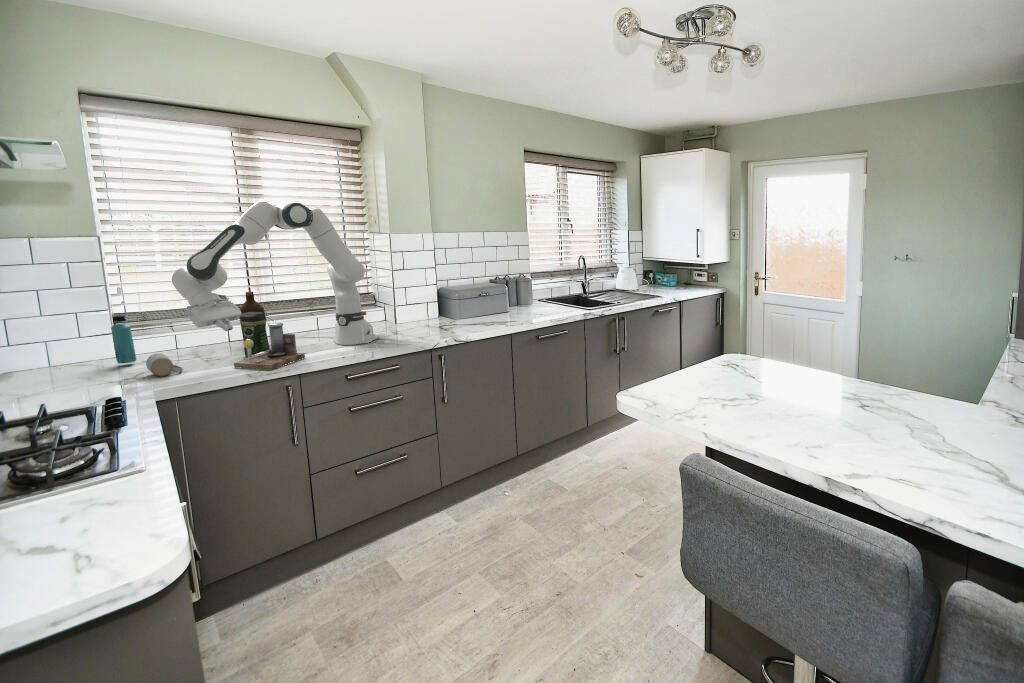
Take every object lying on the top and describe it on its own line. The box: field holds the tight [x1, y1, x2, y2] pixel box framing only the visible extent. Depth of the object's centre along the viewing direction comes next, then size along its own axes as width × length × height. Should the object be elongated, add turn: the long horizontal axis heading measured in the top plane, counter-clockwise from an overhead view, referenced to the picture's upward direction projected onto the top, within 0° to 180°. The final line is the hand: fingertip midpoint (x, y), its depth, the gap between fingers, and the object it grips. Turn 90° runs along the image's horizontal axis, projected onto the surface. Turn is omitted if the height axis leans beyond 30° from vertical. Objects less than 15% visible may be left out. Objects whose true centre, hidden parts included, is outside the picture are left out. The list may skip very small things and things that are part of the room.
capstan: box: [242, 322, 286, 360], centre depth 208 cm, size 20×7×13 cm, turn 164°
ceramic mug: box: [145, 352, 184, 377], centre depth 197 cm, size 11×8×8 cm
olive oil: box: [238, 291, 266, 342], centre depth 241 cm, size 11×11×25 cm
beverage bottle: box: [110, 315, 137, 364], centre depth 210 cm, size 6×7×20 cm
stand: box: [233, 333, 306, 371], centre depth 211 cm, size 20×17×10 cm
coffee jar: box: [240, 312, 271, 357], centre depth 224 cm, size 10×8×19 cm
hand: (229, 329), depth 203 cm, fingers closed
